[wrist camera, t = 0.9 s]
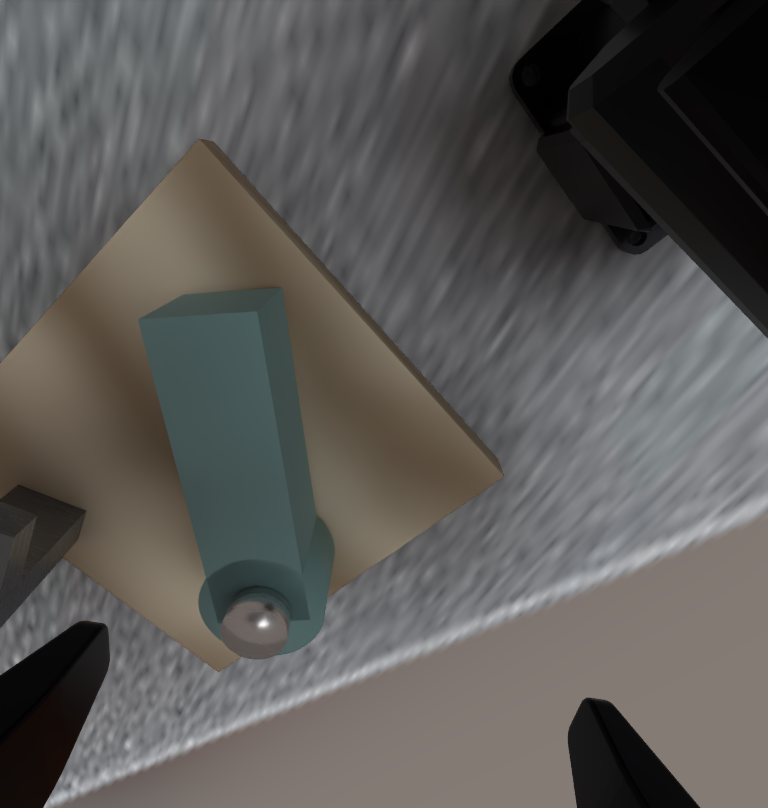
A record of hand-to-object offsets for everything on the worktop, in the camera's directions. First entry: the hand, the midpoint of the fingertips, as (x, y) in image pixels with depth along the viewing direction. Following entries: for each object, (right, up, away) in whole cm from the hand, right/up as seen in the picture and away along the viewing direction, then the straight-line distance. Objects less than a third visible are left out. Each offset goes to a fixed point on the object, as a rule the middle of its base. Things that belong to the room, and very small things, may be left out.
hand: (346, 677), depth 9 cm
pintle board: (-5, +3, +11) cm, 12 cm away
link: (-3, +3, +9) cm, 10 cm away
